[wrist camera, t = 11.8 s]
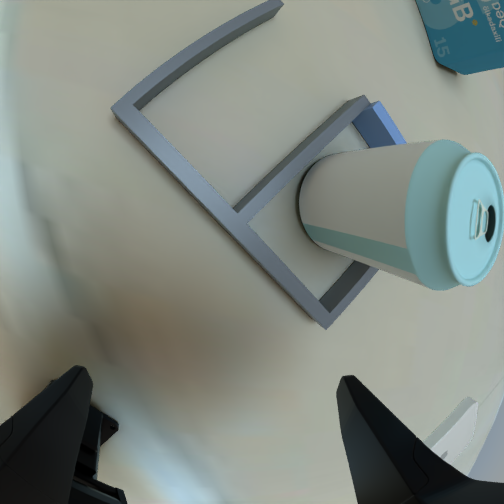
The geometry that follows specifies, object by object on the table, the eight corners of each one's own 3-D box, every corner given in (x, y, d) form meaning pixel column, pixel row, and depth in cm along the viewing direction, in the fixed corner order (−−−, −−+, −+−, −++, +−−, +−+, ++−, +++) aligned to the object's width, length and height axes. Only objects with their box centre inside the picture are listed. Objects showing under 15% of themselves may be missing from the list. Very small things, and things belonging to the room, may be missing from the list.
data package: (408, -15, 19) (479, -50, 8) (431, -2, 20) (499, -29, 9) (435, 67, 22) (526, 46, 11) (457, 77, 23) (540, 62, 12)
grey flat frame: (313, 319, 22) (333, 335, 19) (115, 116, 15) (107, 102, 13) (412, 200, 23) (437, 203, 20) (266, 9, 16) (281, -11, 14)
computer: (465, 434, 44) (472, 440, 41) (393, 501, 40) (399, 508, 38) (469, 389, 37) (479, 395, 34) (375, 478, 33) (384, 488, 31)
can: (350, 139, 20) (490, 117, 9) (385, 218, 23) (515, 243, 11) (276, 184, 19) (416, 182, 8) (322, 269, 22) (453, 333, 10)
